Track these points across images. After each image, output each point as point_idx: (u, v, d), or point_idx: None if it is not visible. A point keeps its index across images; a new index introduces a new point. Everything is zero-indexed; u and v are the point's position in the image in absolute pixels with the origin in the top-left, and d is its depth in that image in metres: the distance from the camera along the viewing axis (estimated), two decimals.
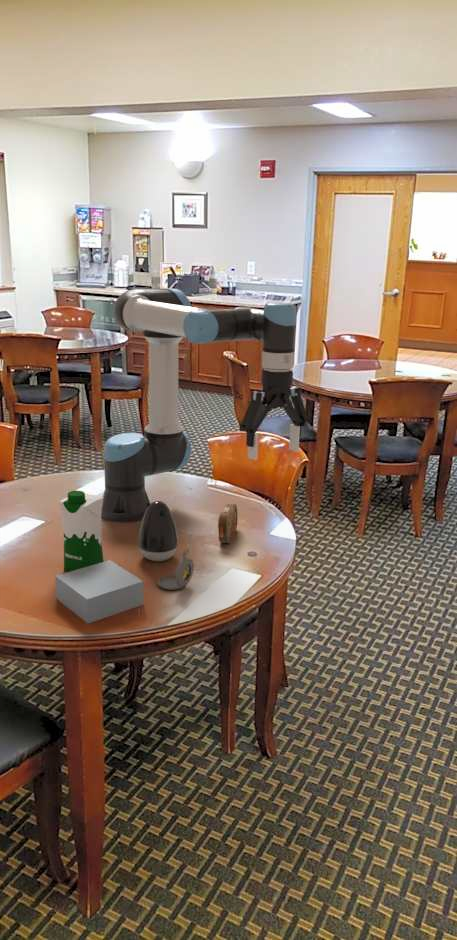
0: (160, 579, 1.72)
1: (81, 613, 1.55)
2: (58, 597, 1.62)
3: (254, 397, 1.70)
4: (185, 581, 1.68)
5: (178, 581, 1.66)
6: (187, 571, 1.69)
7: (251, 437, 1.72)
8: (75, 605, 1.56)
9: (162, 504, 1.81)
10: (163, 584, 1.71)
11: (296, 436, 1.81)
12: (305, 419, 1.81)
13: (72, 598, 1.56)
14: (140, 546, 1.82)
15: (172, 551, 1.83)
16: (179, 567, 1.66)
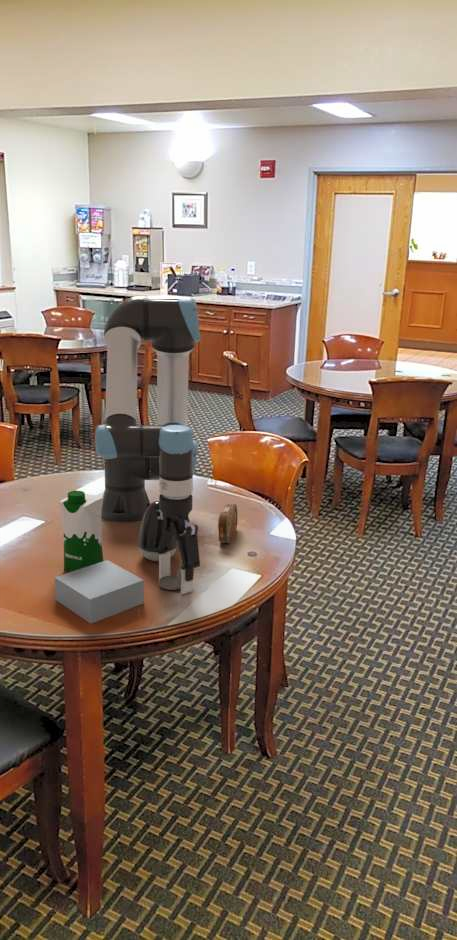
0: (161, 579, 1.72)
1: (83, 614, 1.54)
2: (57, 598, 1.62)
3: None
4: None
5: (179, 581, 1.66)
6: None
7: None
8: (77, 605, 1.56)
9: None
10: (164, 584, 1.70)
11: None
12: (188, 564, 1.62)
13: (74, 598, 1.56)
14: (140, 546, 1.82)
15: (172, 551, 1.83)
16: (180, 567, 1.65)
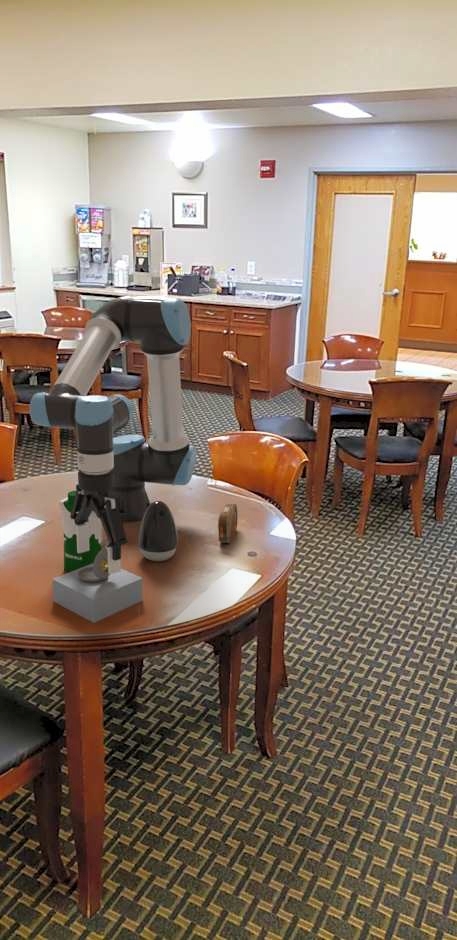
0: (82, 570, 1.63)
1: (85, 614, 1.55)
2: (55, 600, 1.61)
3: None
4: (105, 573, 1.58)
5: (95, 573, 1.56)
6: None
7: None
8: (78, 606, 1.56)
9: (162, 504, 1.81)
10: (84, 576, 1.61)
11: None
12: (114, 542, 1.50)
13: (75, 599, 1.56)
14: (140, 546, 1.82)
15: (172, 551, 1.83)
16: (97, 558, 1.56)
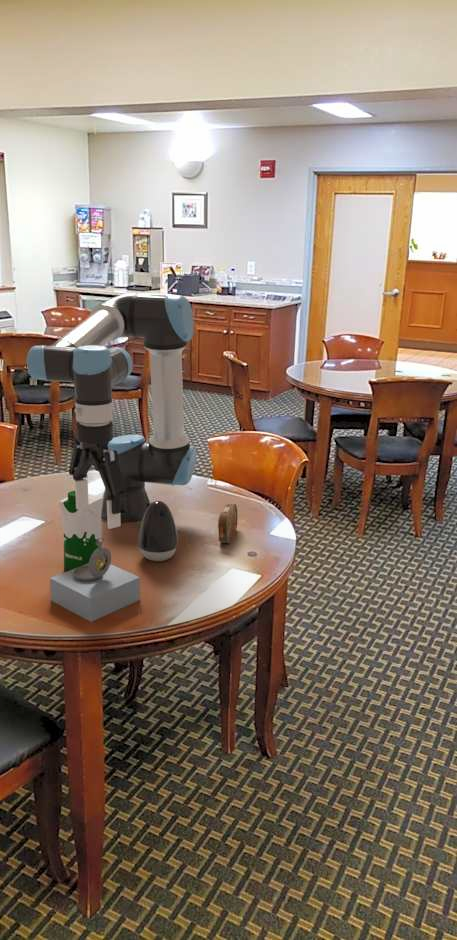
0: (77, 569, 1.63)
1: (82, 613, 1.55)
2: (53, 599, 1.62)
3: None
4: (100, 572, 1.59)
5: (91, 571, 1.57)
6: (103, 561, 1.60)
7: None
8: (75, 605, 1.56)
9: (162, 504, 1.81)
10: (79, 574, 1.62)
11: None
12: (113, 495, 1.47)
13: (72, 598, 1.56)
14: (140, 546, 1.82)
15: (172, 551, 1.83)
16: (92, 556, 1.57)
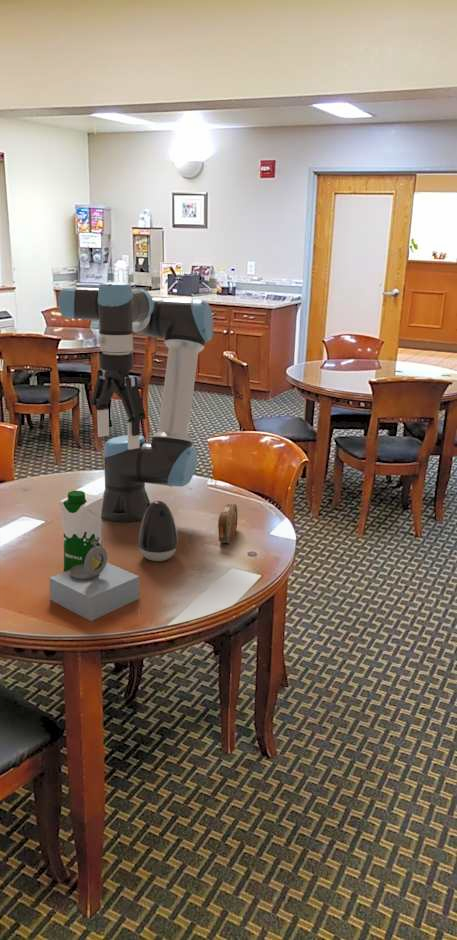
0: (73, 568, 1.64)
1: (82, 612, 1.55)
2: (52, 599, 1.62)
3: None
4: (96, 571, 1.60)
5: (87, 570, 1.57)
6: (99, 560, 1.60)
7: None
8: (75, 604, 1.56)
9: (162, 504, 1.81)
10: (75, 573, 1.63)
11: None
12: (134, 417, 1.62)
13: (72, 597, 1.57)
14: (140, 546, 1.82)
15: (172, 551, 1.83)
16: (88, 556, 1.57)
